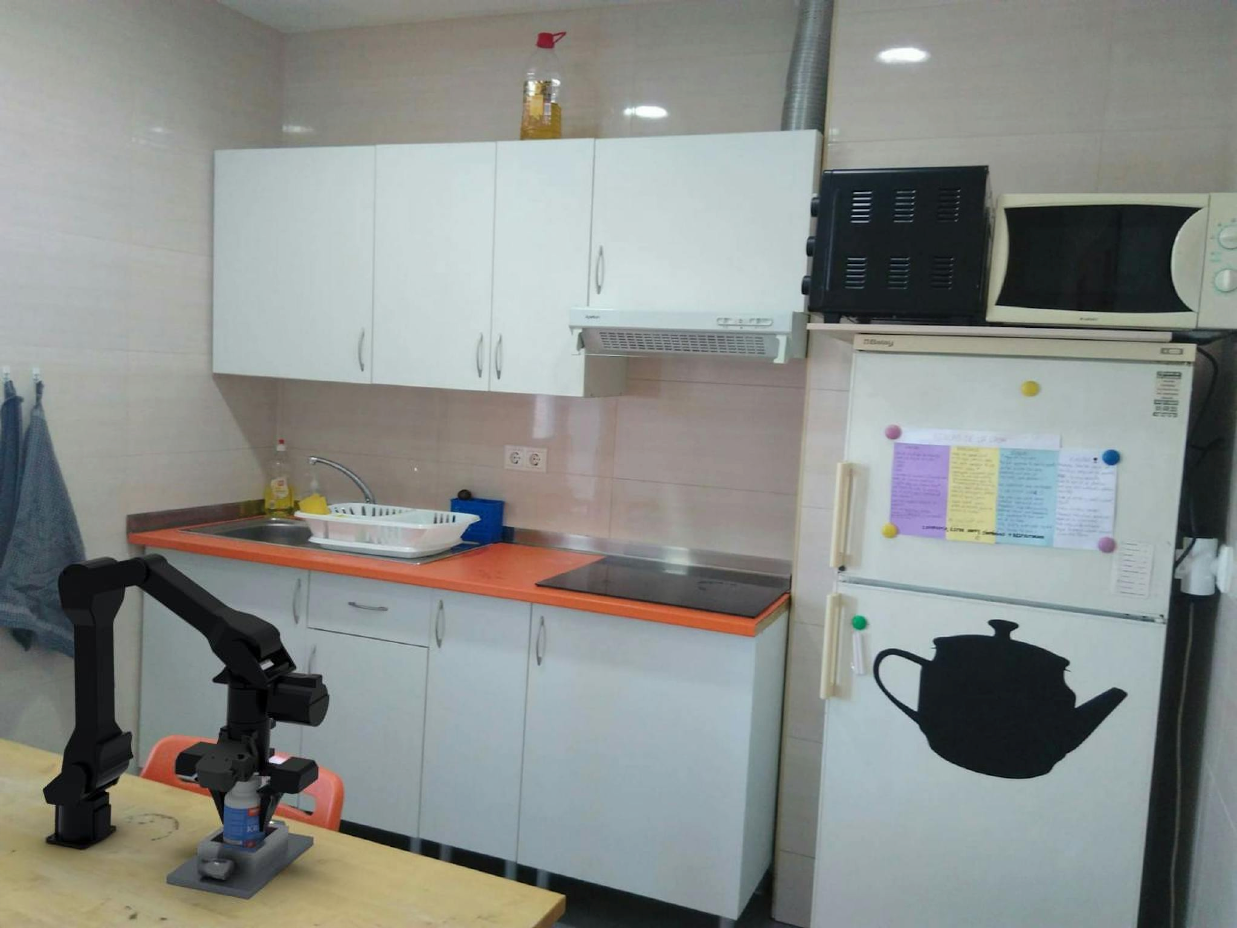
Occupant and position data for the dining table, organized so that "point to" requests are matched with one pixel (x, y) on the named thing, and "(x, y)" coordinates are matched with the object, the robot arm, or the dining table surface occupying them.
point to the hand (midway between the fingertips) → (244, 827)
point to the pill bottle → (243, 814)
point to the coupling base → (240, 862)
